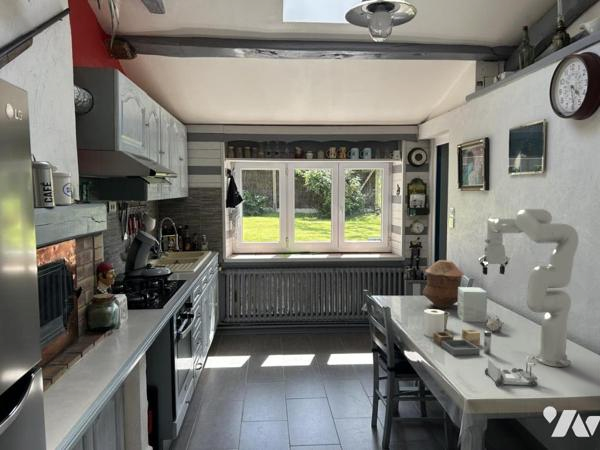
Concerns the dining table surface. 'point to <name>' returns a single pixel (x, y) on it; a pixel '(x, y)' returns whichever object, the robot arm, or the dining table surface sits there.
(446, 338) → the square wooden socket
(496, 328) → the game die
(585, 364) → the dining table surface
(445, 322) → the flower pot
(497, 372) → the toy car
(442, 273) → the pottery vessel
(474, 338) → the oak block
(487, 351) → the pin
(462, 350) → the tray
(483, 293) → the supplement box
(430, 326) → the toilet paper
